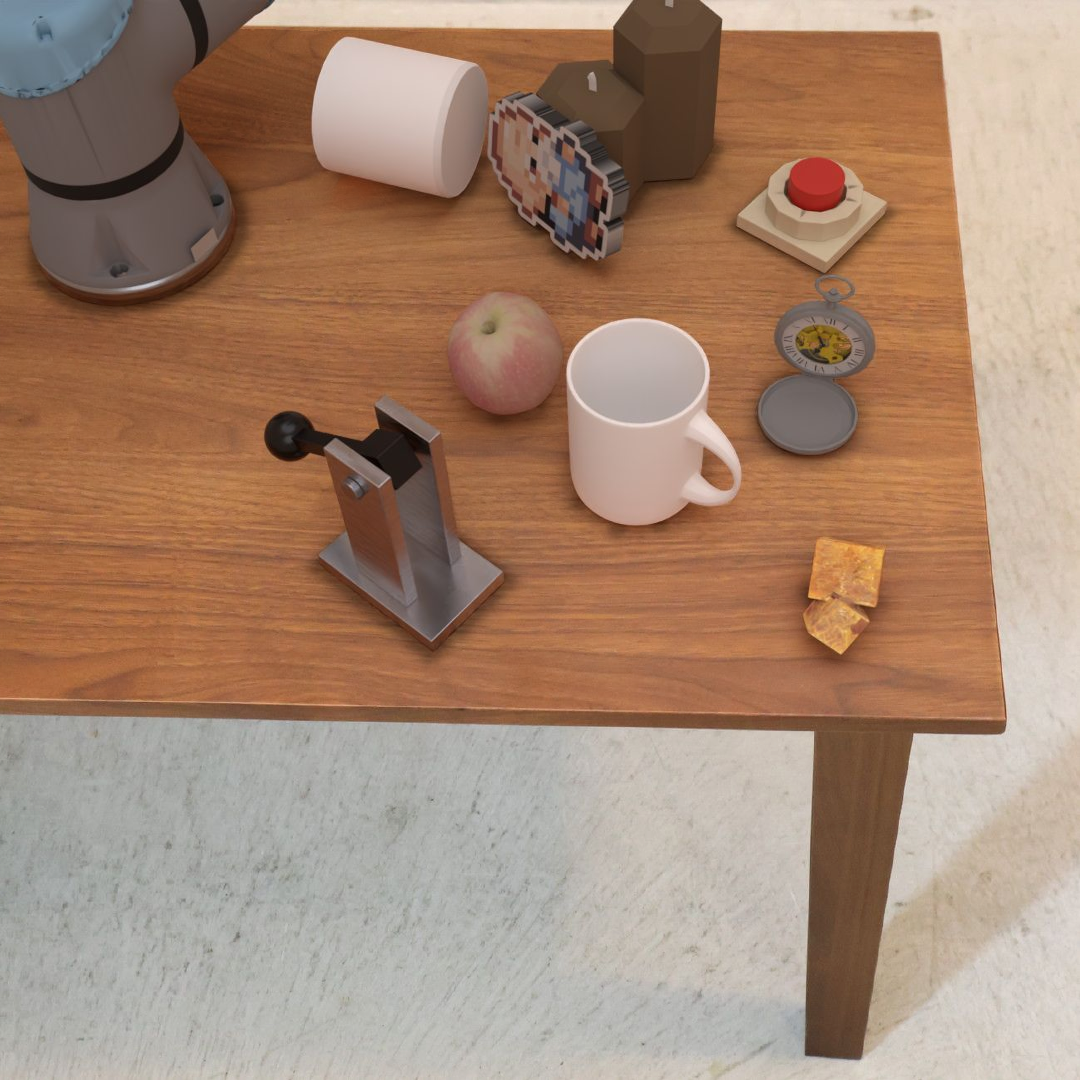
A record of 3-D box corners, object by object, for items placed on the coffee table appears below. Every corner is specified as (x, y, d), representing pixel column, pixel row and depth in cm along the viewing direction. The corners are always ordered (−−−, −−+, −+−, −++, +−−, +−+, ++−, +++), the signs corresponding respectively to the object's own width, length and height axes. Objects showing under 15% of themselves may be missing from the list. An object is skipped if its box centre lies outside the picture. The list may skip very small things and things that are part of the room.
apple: (472, 343, 100) (462, 262, 93) (576, 360, 98) (573, 279, 92) (439, 428, 95) (427, 349, 89) (547, 447, 94) (543, 369, 87)
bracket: (320, 565, 90) (277, 431, 78) (392, 500, 92) (360, 361, 81) (433, 651, 86) (405, 524, 74) (504, 581, 88) (488, 447, 77)
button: (776, 196, 103) (778, 178, 101) (807, 167, 104) (810, 149, 103) (821, 220, 101) (824, 202, 100) (852, 190, 103) (856, 172, 101)
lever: (272, 468, 89) (245, 429, 87) (308, 437, 90) (282, 398, 88) (393, 502, 78) (366, 458, 76) (432, 466, 79) (406, 422, 78)
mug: (695, 579, 88) (705, 477, 79) (544, 489, 92) (537, 383, 83) (769, 489, 91) (786, 382, 82) (620, 406, 96) (621, 297, 87)
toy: (617, 274, 103) (633, 159, 95) (602, 282, 102) (617, 166, 94) (501, 180, 109) (507, 65, 101) (486, 187, 108) (491, 71, 101)
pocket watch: (777, 470, 92) (793, 370, 84) (734, 377, 97) (745, 274, 88) (893, 440, 93) (920, 339, 85) (844, 350, 98) (866, 245, 89)
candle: (702, 90, 114) (713, -81, 101) (723, 205, 106) (738, 36, 94) (536, 101, 114) (526, -68, 101) (544, 218, 106) (535, 51, 94)
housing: (735, 226, 105) (738, 196, 103) (797, 169, 108) (801, 138, 106) (824, 274, 102) (829, 243, 99) (885, 213, 105) (891, 183, 103)
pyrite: (867, 651, 86) (801, 636, 87) (889, 545, 85) (822, 532, 86) (864, 661, 81) (793, 646, 82) (887, 549, 80) (816, 535, 81)
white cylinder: (448, 72, 98) (316, 44, 100) (433, 211, 103) (307, 182, 105) (507, 51, 109) (386, 26, 111) (491, 178, 114) (375, 151, 116)
